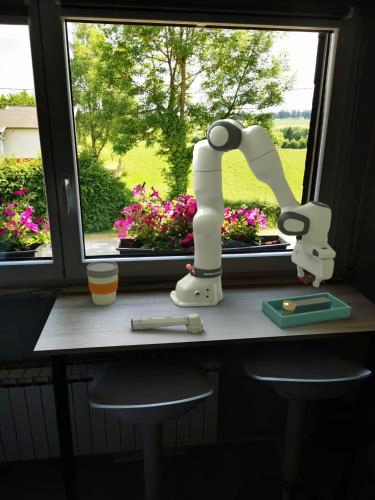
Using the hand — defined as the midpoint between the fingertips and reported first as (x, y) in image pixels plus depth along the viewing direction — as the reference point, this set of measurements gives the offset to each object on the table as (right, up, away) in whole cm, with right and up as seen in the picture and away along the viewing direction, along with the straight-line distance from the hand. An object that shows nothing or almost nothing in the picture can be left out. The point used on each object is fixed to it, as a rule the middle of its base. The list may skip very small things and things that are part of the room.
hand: (307, 281), depth 138 cm
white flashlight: (-52, -17, -8) cm, 56 cm away
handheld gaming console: (+15, -3, +38) cm, 41 cm away
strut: (+1, -12, +4) cm, 13 cm away
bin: (0, -13, +4) cm, 14 cm away
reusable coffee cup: (-80, -9, +14) cm, 81 cm away
